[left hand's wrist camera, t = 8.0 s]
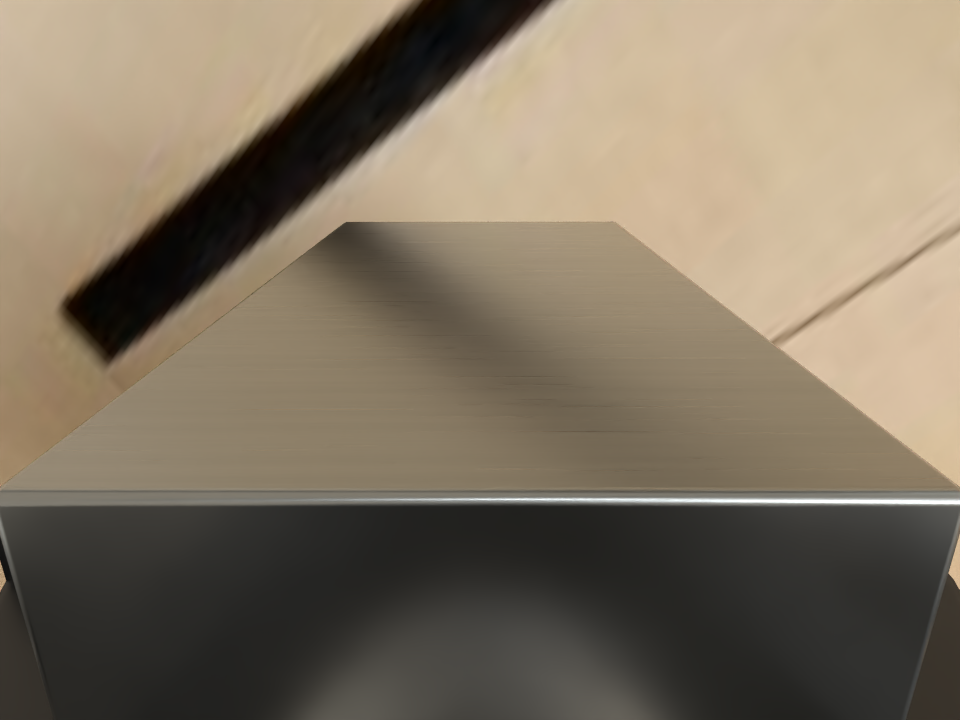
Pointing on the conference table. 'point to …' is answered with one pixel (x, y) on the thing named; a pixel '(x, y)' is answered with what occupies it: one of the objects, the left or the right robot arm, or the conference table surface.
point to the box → (479, 505)
